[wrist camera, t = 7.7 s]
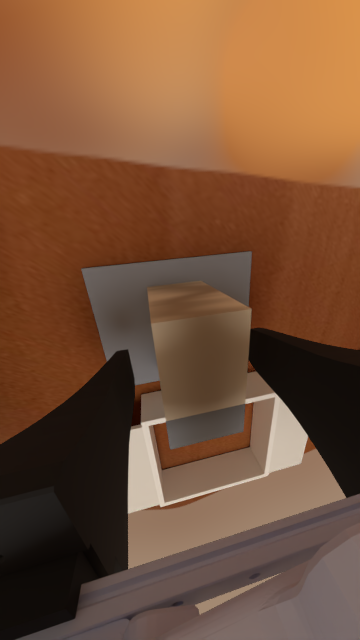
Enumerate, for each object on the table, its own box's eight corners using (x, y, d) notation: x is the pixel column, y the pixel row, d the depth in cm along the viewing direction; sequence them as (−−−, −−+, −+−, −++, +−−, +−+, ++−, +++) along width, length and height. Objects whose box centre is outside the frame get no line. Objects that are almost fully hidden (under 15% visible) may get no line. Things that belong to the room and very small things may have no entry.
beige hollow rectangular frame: (296, 363, 19) (321, 382, 16) (281, 441, 24) (300, 466, 21) (95, 403, 16) (86, 435, 14) (123, 483, 21) (119, 518, 18)
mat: (248, 251, 14) (251, 251, 14) (243, 361, 18) (245, 363, 17) (82, 268, 12) (81, 268, 12) (115, 385, 16) (114, 389, 16)
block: (200, 280, 14) (251, 308, 7) (203, 359, 16) (243, 431, 10) (146, 287, 13) (151, 323, 7) (159, 367, 16) (170, 449, 9)
